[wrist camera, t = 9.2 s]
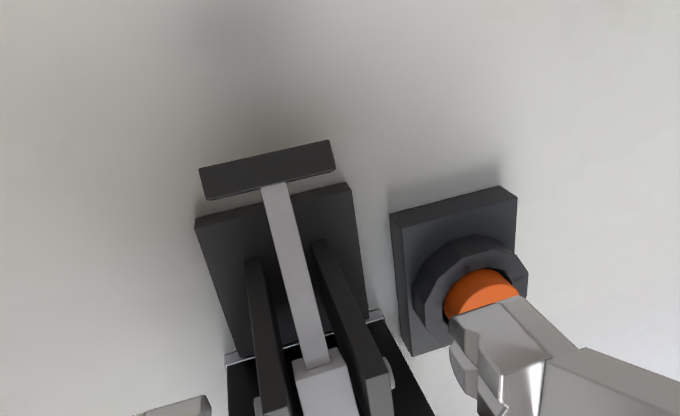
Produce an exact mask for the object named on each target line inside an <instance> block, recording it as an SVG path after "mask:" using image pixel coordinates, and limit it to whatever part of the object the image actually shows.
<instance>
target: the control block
mask: <svg viewBox="0 0 680 416" xmlns="http://www.w3.org/2000/svg"><path fill="white" fill-rule="evenodd" d="M517 200H518V198H517V197H516V196H515V195H513V194H512V193H510V192H509V191H507V190H506V189H504V188H503V187H501V186H497V187H493V188H489V189H486V190H482V191H478V192H474V193H470V194H466V195H463V196H459V197H455V198H451V199H447V200H443V201H440V202H436V203H432V204H428V205H424V206H420V207H417V208H413V209H409V210H405V211H401V212H398V213H394V214H390V224H391V234H392V244H393V255H394V265H395V275H396V285H397V295H398V306H399V316H400V326H401V336H402V340H403V342H404V344H405V345H406V347H407V349H408V351H409V353H410V354H411V356H412V357H414V356H417V355H420V354H423V353H427V352H430V351H433V350H436V349H439V348H442V347H445V346H448V345H451V344H452V342H453V341H454V339H453V337H452V336H451V334H450V333H449V329H448V322H449V319H448V318H447V317H446V315H445V312H444V299H445V296H446V294H447V292H448V291H449V289H450V287H451V286H452V285H453V284H454V283H455V282H456V281H458V280H459V279H460V278H461V277H463V276H464V275H465V274H466V273H468V272H471V271H474V270H478V269H491V270H495V271H497V272H498V273H499V274H501V275H502V276H503V277H504V278H505V279H506V280H507V281H508V282H509V283H510V284H511V285H512V286H513V287H514V288H515V289H516V290H517V291H518V293H519V296H521V297H524V298H526V296H527V285H528V271H527V270H526V268H525V267H524V265H523V264H522V263H521V261H520V260H519V258H518V257H517V255H516V254H514V248H515V232H516V216H517Z"/></svg>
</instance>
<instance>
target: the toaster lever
mask: <svg viewBox="0 0 680 416" xmlns="http://www.w3.org/2000/svg"><path fill="white" fill-rule="evenodd" d="M334 170H336V165H335V161H334V157H333V153H332V149H331V145H330V141H329V140H324V141H319V142H315V143H310V144H306V145H301V146H297V147H293V148H288V149H284V150H279V151H275V152H270V153H266V154H261V155H257V156H252V157H248V158H243V159H239V160H235V161H230V162H226V163H221V164H217V165H212V166H208V167H203V168H200V169H199V174H200V178H201V182H202V186H203V190H204V193H205V197H206V200H211V201H212V200H216V199H221V198H225V197H229V196H233V195H237V194H242V193H246V192H250V191H254V190H258V189H260V190H261V194H262V197H263V201H264V205H265V209H266V213H267V217H268V221H269V225H270V229H271V233H272V237H273V241H274V245H275V249H276V253H277V257H278V261H279V265H280V269H281V272H282V276H283V280H284V284H285V288H286V292H287V296H288V300H289V304H290V308H291V312H292V316H293V320H294V324H295V328H296V332H297V336H298V340H299V344H300V347H301V351H302V355H303V358H300V359H297V360H293V361H292V367H293V373H294V378H295V383H296V387H297V391H298V395H299V399H300V403H301V407H302V411H303V415H304V416H359V412H358V408H357V404H356V400H355V396H354V392H353V388H352V384H351V380H350V376H349V372H348V368H347V365H346V363H345V361H344V359H343V357H342V355H341V353H340V352H339V350H338V348H337V347H335V348H332V349H329V350H328V347H327V343H326V339H325V336H324V332H323V328H322V324H321V320H320V316H319V312H318V308H317V304H316V300H315V296H314V292H313V288H312V284H311V280H310V276H309V272H308V268H307V264H306V260H305V256H304V252H303V248H302V244H301V240H300V236H299V232H298V228H297V224H296V220H295V216H294V212H293V208H292V204H291V200H290V196H289V192H288V188H287V184H286V183H288V182H292V181H296V180H300V179H305V178H309V177H313V176H317V175H321V174H326V173H330V172H332V171H334Z"/></svg>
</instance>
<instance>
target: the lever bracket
mask: <svg viewBox="0 0 680 416" xmlns="http://www.w3.org/2000/svg"><path fill="white" fill-rule="evenodd" d="M290 200H291V204H292V208H293V212H294V216H295V220H296V224H297V228H298V232H299V236H300V240H301V244H302V248H303V252H304V256H305V260H306V264H307V268H308V272H309V276H310V280H311V284H312V288H313V292H314V296H315V300H316V304H317V308H318V312H319V316H320V320H321V324H322V328H323V332H324V333H325V332H328V331H331V330H333V333H334V335H335V338H336V341H337V343H338V346H339V349H340V352H341V354H342V357H343V359H344V361H345V363H346V365H347V368H348V372H349V376H350V379H351V382H352V384H353V387H354V390H355V393H356V395H357V398H358V401H359V404H360V406H361V409H362V412H363V414H364V416H394V408H393V400H392V392H391V390H392V389H394V388H395V381H394V377H393V373H392V370H391V367H390V365H389V363H388V361H387V359H386V358H385V357H382V356H381V354H380V352H379V350H378V348H377V345H376V343H375V341H374V339H373V337H372V335H371V333H370V331H369V329H368V327H367V324H366V322H365V320H367V319H369V310H368V303H367V296H366V289H365V282H364V275H363V268H362V261H361V254H360V247H359V240H358V233H357V226H356V219H355V212H354V204H353V197H352V190H351V189H350V187H349V186H348V184H347V183H346V182H344V183H340V184H336V185H332V186H328V187H323V188H319V189H315V190H311V191H307V192H303V193H299V194H295V195H291V196H290ZM194 229H195V232H196V235H197V238H198V241H199V243H200V246H201V249H202V252H203V255H204V258H205V261H206V263H207V266H208V269H209V272H210V275H211V278H212V281H213V283H214V286H215V289H216V292H217V295H218V298H219V301H220V303H221V306H222V309H223V312H224V315H225V318H226V321H227V324H228V326H229V329H230V332H231V335H232V338H233V341H234V344H235V346H236V349H237V352H238V355H239V357H240V358H242V357H245V356H248V355H252V354H255V359H256V367H257V376H258V384H259V392H260V397H256V398H254V410H255V415H256V416H297V414H296V409H295V405H294V400H293V395H292V390H291V385H290V380H289V375H288V370H287V366H286V361H285V356H284V351H283V346H282V345H285V344H288V343H291V342H295V341H298V336H297V332H296V328H295V324H294V320H293V316H292V312H291V308H290V304H289V300H288V296H287V292H286V288H285V284H284V280H283V276H282V272H281V269H280V265H279V261H278V257H277V253H276V249H275V245H274V241H273V237H272V233H271V229H270V225H269V221H268V217H267V213H266V209H265V205H264V202H262V203H258V204H254V205H249V206H245V207H241V208H237V209H233V210H229V211H225V212H221V213H217V214H213V215H208V216H204V217H200V218H196V219H195V227H194Z"/></svg>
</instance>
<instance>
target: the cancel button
mask: <svg viewBox="0 0 680 416" xmlns="http://www.w3.org/2000/svg"><path fill="white" fill-rule="evenodd" d="M516 295H519V293H518V291H517V290H516V289H515V288H514V287H513V286H512V285H511V284H510V283H509V282H508V281H507V280H506V279H505V278H504V277H503V276H502V275H501V274H499V273H498V272H497V271H495V270H491V269H478V270H474V271H471V272H468V273H466V274H465V275H464V276H463V277H461V278H460V279H459V280H458V281H456V282H455V283H454V284H453V285H452V286H451V287H450V289H449V291H448V292H447V294H446V296H445V299H444V312H445V315H446V317H447V318H448V319H450V317H451V316H454V315H457V314H460V313H463V312H466V311H469V310H472V309H476V308H479V307H482V306H485V305H488V304H491V303H495V302H497V301H501V300H504V299H507V298H510V297H513V296H516Z"/></svg>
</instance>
